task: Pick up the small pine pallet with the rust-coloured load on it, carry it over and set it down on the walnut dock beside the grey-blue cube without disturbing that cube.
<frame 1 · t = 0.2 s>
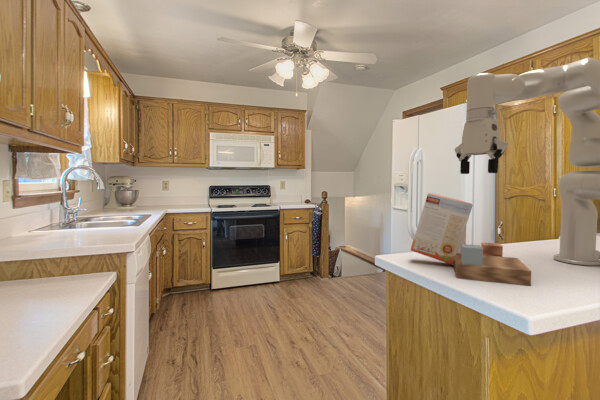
hand: (478, 173, 97), 30 cm above the worktop, tool pointing down, fingers open, 9 cm apart
milk carton: (451, 257, 119), on the worktop
cracker box: (431, 256, 109), point 2 cm above the worktop, touching dock
grey-blue cube: (471, 263, 93), point 4 cm above the worktop, touching dock
loaded pallet: (491, 264, 109), on the worktop
dock: (487, 274, 96), on the worktop
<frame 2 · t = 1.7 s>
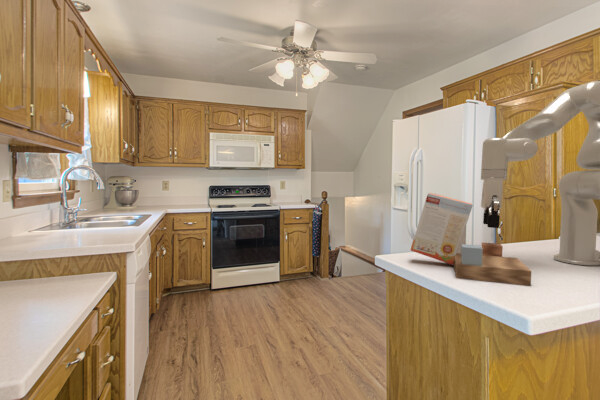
hand: (490, 225, 108), 13 cm above the worktop, tool pointing down, fingers open, 9 cm apart
nothing on the worktop moved.
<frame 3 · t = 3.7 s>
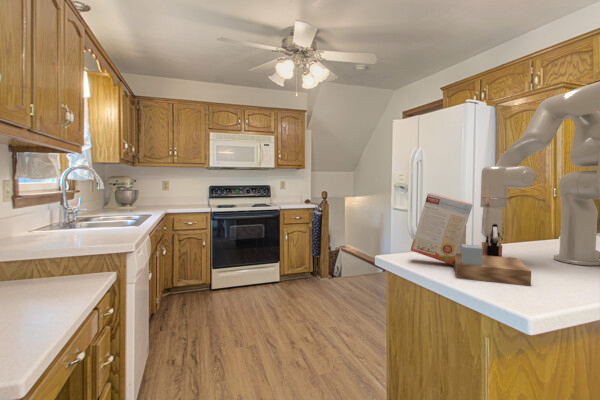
hand: (491, 255, 108), 3 cm above the worktop, tool pointing down, fingers closed on loaded pallet, 5 cm apart
loaded pallet: (491, 263, 109), on the worktop, touching gripper
everything else where it was.
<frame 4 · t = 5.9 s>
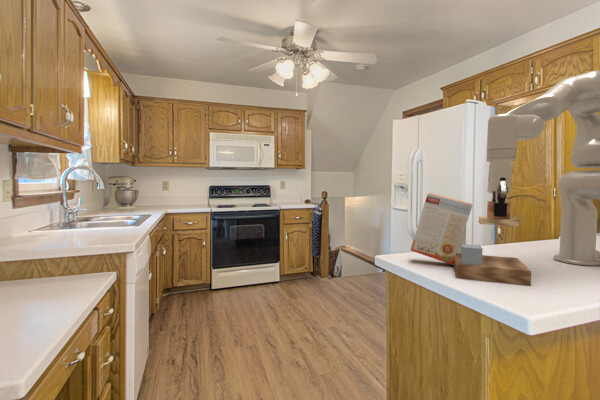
hand: (498, 215, 97), 18 cm above the worktop, tool pointing down, fingers closed on loaded pallet, 5 cm apart
loaded pallet: (497, 224, 98), point 15 cm above the worktop, touching gripper
everything else where it was.
when the fingers open (8 cm above the worktop, at t = 8.6 s): loaded pallet stays where it is, resting on dock.
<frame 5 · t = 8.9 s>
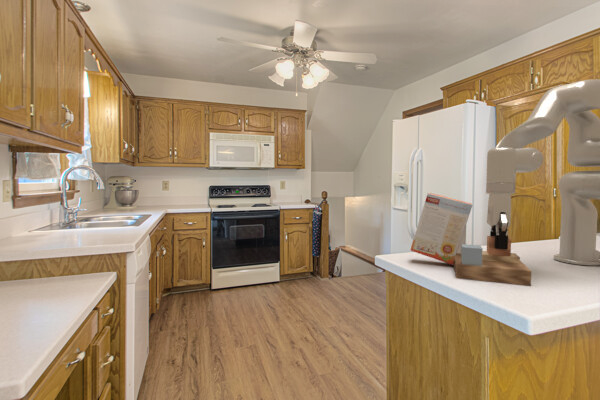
hand: (498, 245, 97), 8 cm above the worktop, tool pointing down, fingers open, 8 cm apart
loaded pallet: (497, 259, 97), point 4 cm above the worktop, touching dock
everything else where it was.
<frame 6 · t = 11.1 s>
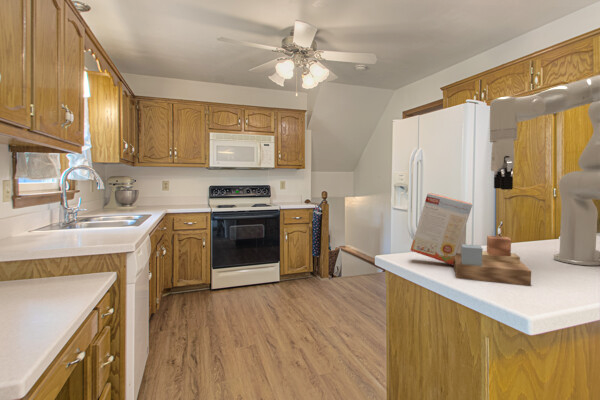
hand: (502, 188, 105), 26 cm above the worktop, tool pointing down, fingers open, 9 cm apart
nothing on the worktop moved.
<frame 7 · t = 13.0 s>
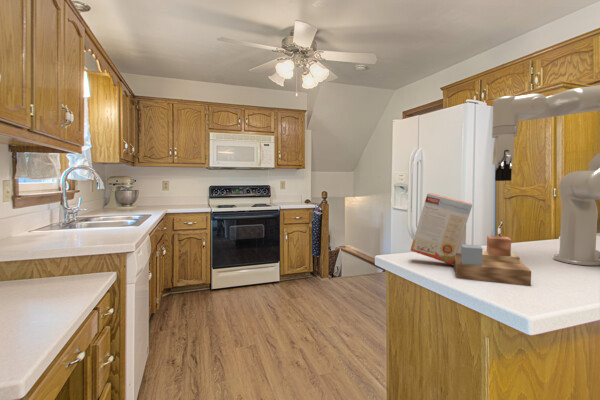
hand: (502, 180, 114), 28 cm above the worktop, tool pointing down, fingers open, 9 cm apart
nothing on the worktop moved.
at the end: loaded pallet inside the target area on the dock (4.3 cm from its centre), point 4.0 cm above the dock's base; loaded pallet tilted 0°; grey-blue cube moved 0.0 cm from its start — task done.
